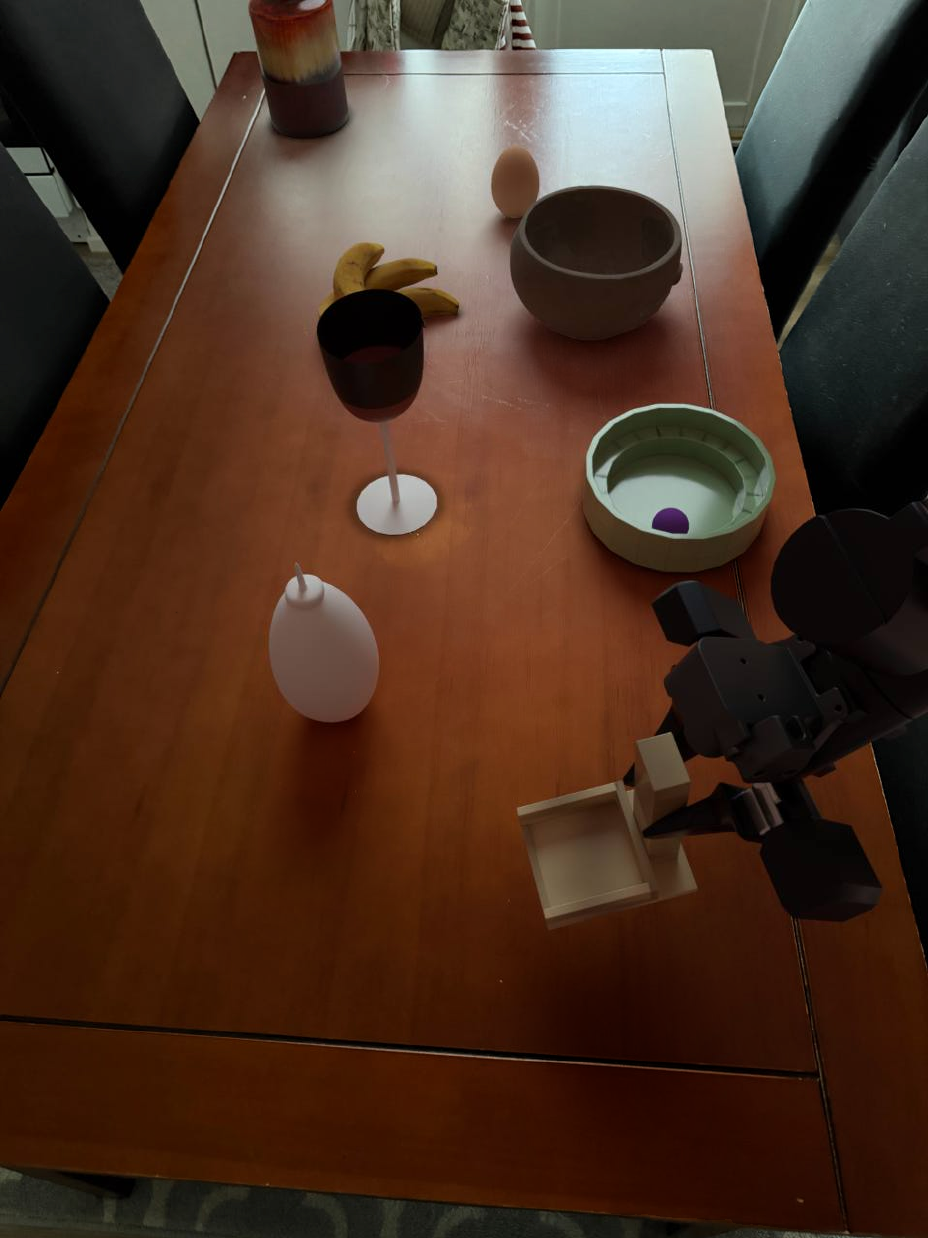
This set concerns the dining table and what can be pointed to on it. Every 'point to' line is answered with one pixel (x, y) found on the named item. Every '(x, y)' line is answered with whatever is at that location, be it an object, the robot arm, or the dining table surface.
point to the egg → (515, 182)
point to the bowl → (595, 260)
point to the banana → (388, 279)
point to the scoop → (610, 841)
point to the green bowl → (677, 486)
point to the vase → (300, 65)
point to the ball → (671, 521)
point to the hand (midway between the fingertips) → (636, 809)
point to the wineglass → (379, 392)
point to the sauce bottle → (322, 651)
